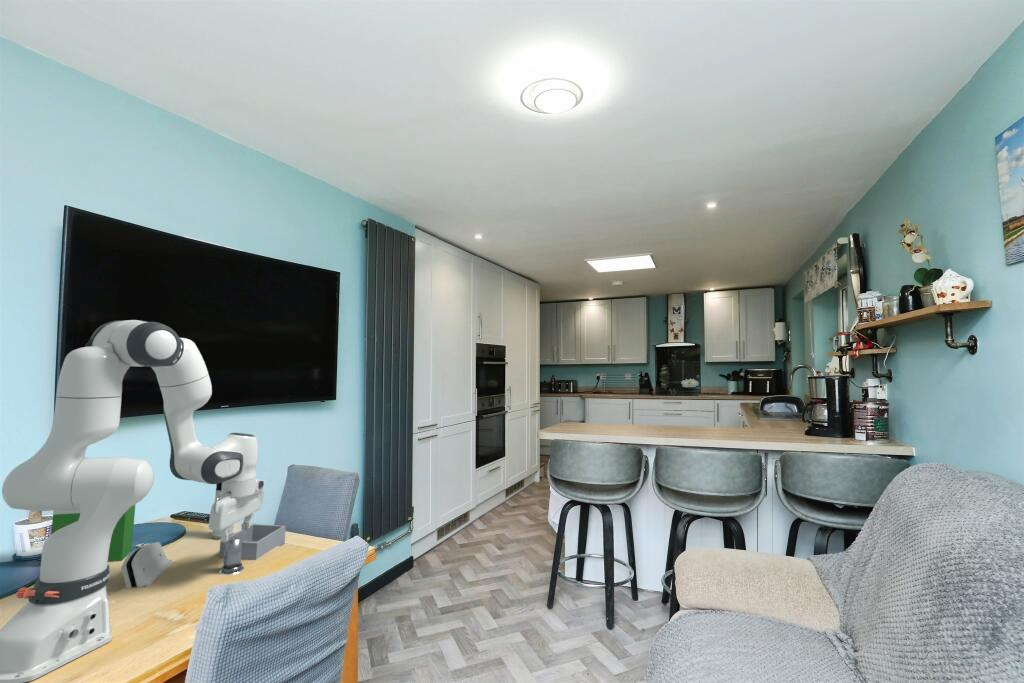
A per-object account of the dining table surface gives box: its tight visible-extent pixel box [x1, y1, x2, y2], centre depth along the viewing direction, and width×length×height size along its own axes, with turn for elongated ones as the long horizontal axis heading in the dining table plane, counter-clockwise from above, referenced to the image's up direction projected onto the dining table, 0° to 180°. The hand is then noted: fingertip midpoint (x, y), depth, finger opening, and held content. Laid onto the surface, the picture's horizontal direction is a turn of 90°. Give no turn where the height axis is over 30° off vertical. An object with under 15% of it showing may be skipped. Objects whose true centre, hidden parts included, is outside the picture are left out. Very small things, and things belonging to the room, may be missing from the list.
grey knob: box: [220, 536, 243, 575], centre depth 139 cm, size 5×5×9 cm
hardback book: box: [50, 504, 136, 563], centre depth 146 cm, size 18×7×24 cm, turn 110°
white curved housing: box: [121, 541, 174, 589], centre depth 134 cm, size 17×5×10 cm, turn 16°
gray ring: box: [218, 565, 245, 576], centre depth 139 cm, size 6×6×1 cm
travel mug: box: [212, 483, 235, 541], centre depth 169 cm, size 6×7×20 cm
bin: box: [218, 523, 286, 561], centre depth 156 cm, size 17×12×6 cm
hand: (235, 535), depth 140 cm, fingers open, 8 cm apart
